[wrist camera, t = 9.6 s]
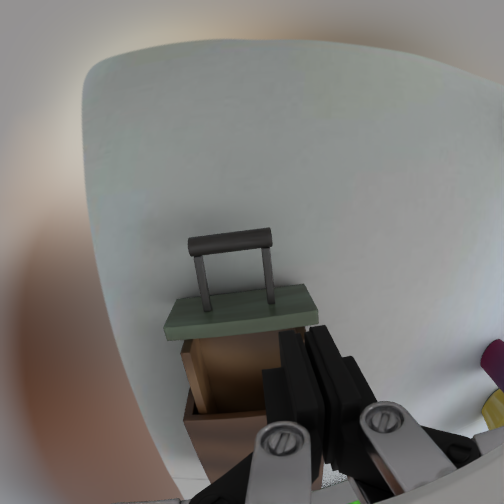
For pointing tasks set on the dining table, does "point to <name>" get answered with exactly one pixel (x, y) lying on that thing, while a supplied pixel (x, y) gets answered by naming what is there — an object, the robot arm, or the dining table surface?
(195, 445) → the cabinet
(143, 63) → the dining table surface
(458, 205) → the dining table surface
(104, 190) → the dining table surface
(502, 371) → the cup
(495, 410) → the flower pot
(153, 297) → the dining table surface
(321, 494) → the tray
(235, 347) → the drawer
